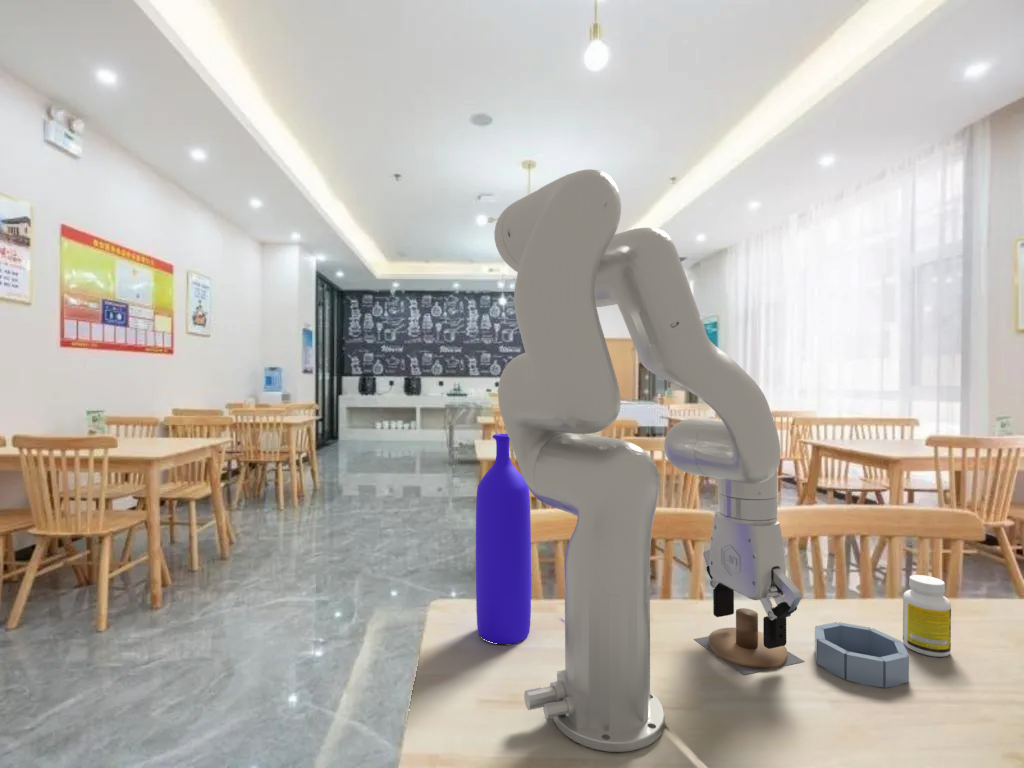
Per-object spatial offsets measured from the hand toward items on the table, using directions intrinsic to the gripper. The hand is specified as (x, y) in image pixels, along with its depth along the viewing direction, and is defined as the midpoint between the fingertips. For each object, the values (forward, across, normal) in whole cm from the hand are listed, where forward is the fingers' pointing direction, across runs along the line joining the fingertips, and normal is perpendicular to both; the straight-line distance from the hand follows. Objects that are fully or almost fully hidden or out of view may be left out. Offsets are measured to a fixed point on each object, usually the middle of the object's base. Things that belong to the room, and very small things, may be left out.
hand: (747, 629), depth 76 cm
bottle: (+3, -17, -30) cm, 35 cm away
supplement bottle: (+4, +7, +25) cm, 26 cm away
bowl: (+4, +8, +11) cm, 14 cm away
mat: (+3, 0, 0) cm, 3 cm away
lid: (+3, 0, 0) cm, 3 cm away
